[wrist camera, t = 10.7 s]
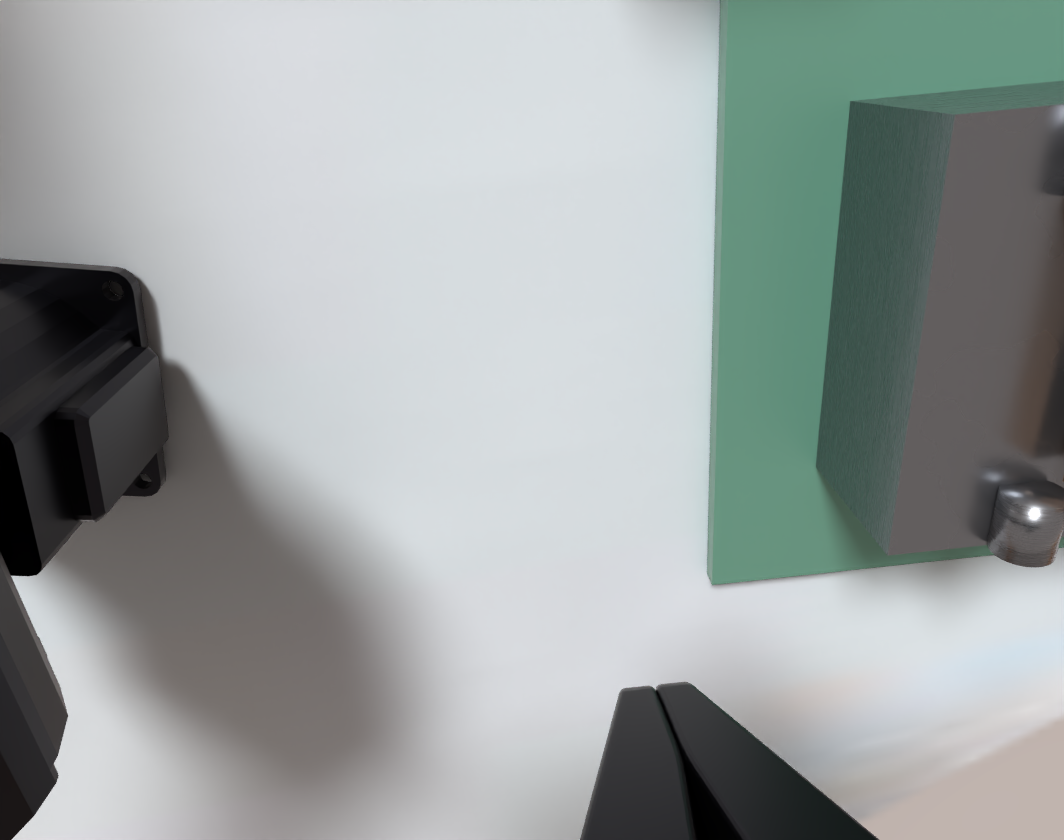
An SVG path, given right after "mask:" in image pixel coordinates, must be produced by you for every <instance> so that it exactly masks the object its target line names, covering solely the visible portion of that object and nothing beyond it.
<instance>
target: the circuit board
mask: <svg viewBox="0 0 1064 840" xmlns="http://www.w3.org/2000/svg"><path fill="white" fill-rule="evenodd" d="M1063 80H1064V0H720V32H719V75H718V119H717V162H716V205H715V249H714V292H713V336H712V379H711V423H710V466H709V509H708V553H707V574H708V577H709V579H710V581H711V584H712V585H716V584H726V583H735V582H744V581H754V580H763V579H772V578H782V577H791V576H800V575H810V574H819V573H828V572H838V571H847V570H857V569H866V568H875V567H885V566H894V565H903V564H913V563H922V562H931V561H941V560H950V559H959V558H969V557H978V556H987V555H994V554H993V553H992V552H991V551H990V550H989V549H988V547H987V545H983V546H973V547H964V548H955V549H945V550H936V551H927V552H917V553H908V554H898V555H889V556H887V554H886V553H885V552H884V551H883V549H882V548H881V547H880V546H879V544H878V543H877V542H876V541H875V539H874V538H873V537H872V536H871V534H870V533H869V532H868V531H867V530H866V528H865V527H864V526H863V525H862V523H861V522H860V521H859V520H858V518H857V517H856V516H855V515H854V513H853V512H852V511H851V510H850V508H849V507H848V506H847V505H846V504H845V502H844V501H843V500H842V499H841V497H840V496H839V495H838V494H837V492H836V491H835V490H834V489H833V487H832V486H831V485H830V484H829V483H828V481H827V480H826V479H825V478H824V476H823V475H822V474H821V473H820V471H819V470H818V469H817V468H816V456H817V445H818V435H819V424H820V414H821V403H822V393H823V382H824V372H825V361H826V351H827V340H828V330H829V319H830V308H831V298H832V287H833V277H834V266H835V256H836V245H837V235H838V224H839V214H840V203H841V193H842V182H843V171H844V161H845V150H846V140H847V129H848V119H849V108H850V101H855V100H866V99H876V98H886V97H897V96H907V95H918V94H928V93H938V92H949V91H959V90H970V89H980V88H990V87H1001V86H1011V85H1022V84H1032V83H1042V82H1053V81H1063ZM1062 547H1064V537H1061V539H1060V543H1059V546H1058V548H1062Z"/></svg>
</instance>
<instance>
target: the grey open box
mask: <svg viewBox="0 0 1064 840" xmlns="http://www.w3.org/2000/svg"><path fill="white" fill-rule="evenodd" d="M816 468H817V469H818V470H819V471H820V473H821V474H822V475H823V476H824V478H825V479H826V480H827V481H828V483H829V484H830V485H831V486H832V487H833V489H834V490H835V491H836V492H837V494H838V495H839V496H840V497H841V499H842V500H843V501H844V502H845V504H846V505H847V506H848V507H849V508H850V510H851V511H852V512H853V513H854V515H855V516H856V517H857V518H858V520H859V521H860V522H861V523H862V525H863V526H864V527H865V528H866V530H867V531H868V532H869V533H870V534H871V536H872V537H873V538H874V539H875V541H876V542H877V543H878V544H879V546H880V547H881V548H882V549H883V551H884V552H885V553H886V554H887V556H889V555H898V554H908V553H917V552H927V551H936V550H945V549H955V548H964V547H973V546H983V545H987V547H988V549H989V550H990V551H991V552H992V553H993V554H994V555H996V556H997V557H999V558H1000V559H1002V560H1004V561H1007V562H1009V563H1012V564H1015V565H1019V566H1025V567H1043V566H1047V565H1050V564H1051V563H1053V562H1054V560H1055V557H1056V554H1057V550H1058V546H1059V543H1060V539H1061V537H1064V482H1063V481H1062V480H1063V476H1064V80H1063V81H1053V82H1042V83H1032V84H1022V85H1011V86H1001V87H990V88H980V89H970V90H959V91H949V92H938V93H928V94H918V95H907V96H897V97H886V98H876V99H866V100H855V101H850V108H849V119H848V129H847V140H846V150H845V161H844V171H843V182H842V193H841V203H840V214H839V224H838V235H837V245H836V256H835V266H834V277H833V287H832V298H831V308H830V319H829V330H828V340H827V351H826V361H825V372H824V382H823V393H822V403H821V414H820V424H819V435H818V445H817V456H816Z"/></svg>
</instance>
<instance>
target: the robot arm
mask: <svg viewBox="0 0 1064 840" xmlns="http://www.w3.org/2000/svg"><path fill="white" fill-rule="evenodd" d="M109 281H114V282H117V283H118V284H119V285H120V286H121V287H122V289H123V291H124V292H123V296H119V295H115V294H114V293H113V292H112V291H111V289H110V287H109ZM168 437H169V433H168V426H167V418H166V411H165V403H164V396H163V388H162V381H161V373H160V366H159V358H158V356H157V355H156V354H155V352H154V351H153V350H152V349H151V348H150V347H148V341H147V334H146V326H145V319H144V312H143V305H142V298H141V290H140V286H139V283H138V280H137V279H136V278H135V277H134V275H133V274H132V273H130V272H129V271H127V270H126V269H123V268H119V267H111V266H97V265H82V264H68V263H54V262H40V261H25V260H11V259H0V840H11V839H12V838H13V837H14V836H15V835H16V834H17V833H18V832H19V831H20V830H21V829H22V828H23V827H24V826H25V825H26V824H27V823H28V822H29V821H30V819H31V818H32V817H33V816H34V815H35V814H36V812H37V811H38V809H39V808H40V806H41V805H42V803H43V802H44V800H45V799H46V797H47V796H48V794H49V793H50V791H51V790H52V788H53V787H54V785H55V784H56V782H57V779H58V773H57V770H56V768H55V766H54V762H55V760H56V758H57V756H58V753H59V749H60V745H61V741H62V737H63V733H64V729H65V725H66V721H67V718H68V714H67V710H66V706H65V703H64V699H63V696H62V692H61V688H60V685H59V683H58V681H57V679H56V676H55V674H54V672H53V670H52V667H51V665H50V663H49V661H48V658H47V654H46V652H45V650H44V647H43V645H42V643H41V641H40V638H39V637H38V636H37V634H36V631H35V629H34V627H33V625H32V622H31V620H30V618H29V616H28V613H27V611H26V609H25V607H24V604H23V602H22V600H21V598H20V595H19V593H18V591H17V589H16V586H15V584H14V582H13V580H12V577H11V576H33V575H37V574H38V573H39V572H40V571H41V570H42V569H43V568H44V567H45V566H46V565H47V563H48V562H49V561H50V560H51V559H52V558H53V556H54V555H55V554H56V553H57V552H58V550H59V549H60V548H61V547H62V546H63V545H64V543H65V542H66V541H67V540H68V539H69V538H70V536H71V535H72V534H73V533H74V532H75V530H76V529H77V528H78V527H79V526H80V525H81V523H82V522H83V521H91V522H97V521H99V520H100V519H101V518H102V517H103V516H105V515H106V514H107V513H108V512H109V510H110V509H111V508H112V507H113V506H114V504H115V503H116V502H117V501H118V499H119V498H120V497H121V496H122V495H123V496H152V495H153V494H155V493H157V492H158V490H159V489H160V488H161V486H162V485H163V484H164V482H165V481H166V470H165V463H164V456H163V449H162V445H163V444H164V443H165V442H166V440H167V439H168ZM140 473H142V474H146V475H147V476H149V477H150V479H151V482H147V481H144V480H143V479H141V478H140V476H139V474H140ZM580 840H879V839H878V838H876V837H875V836H874V835H873V834H872V833H870V832H869V831H868V830H867V829H866V828H864V827H863V826H862V825H861V824H860V823H858V822H857V821H856V820H855V819H854V818H852V817H851V816H850V815H849V814H848V813H846V812H845V811H844V810H843V809H841V808H840V807H839V806H838V805H837V804H835V803H834V802H833V801H832V800H831V799H829V798H828V797H827V796H826V795H825V794H823V793H822V792H821V791H820V790H819V789H817V788H816V787H815V786H814V785H813V784H811V783H810V782H809V781H808V780H807V779H805V778H804V777H803V776H802V775H800V774H799V773H798V772H797V771H796V770H794V769H793V768H792V767H791V766H790V765H788V764H787V763H786V762H785V761H784V760H782V759H781V758H780V757H779V756H778V755H776V754H775V753H774V752H773V751H772V750H770V749H769V748H768V747H767V746H765V745H764V744H763V743H762V742H761V741H759V740H758V739H757V738H756V737H755V736H753V735H752V734H751V733H750V732H749V731H747V730H746V729H745V728H744V727H743V726H741V725H740V724H739V723H738V722H737V721H735V720H734V719H733V718H732V717H731V716H729V715H728V714H727V713H726V712H724V711H723V710H722V709H721V708H720V707H718V706H717V705H716V704H715V703H714V702H712V701H711V700H710V699H709V698H708V697H706V696H705V695H704V694H703V693H702V692H700V691H699V690H698V689H697V688H696V687H694V686H693V685H692V684H690V683H688V682H678V683H668V684H660V685H658V686H657V687H656V689H654V688H653V687H651V686H641V687H632V688H624V689H622V690H621V691H620V693H619V696H618V700H617V704H616V707H615V711H614V715H613V718H612V722H611V726H610V730H609V733H608V737H607V741H606V745H605V748H604V752H603V756H602V760H601V763H600V767H599V771H598V774H597V778H596V782H595V786H594V789H593V793H592V797H591V801H590V804H589V808H588V812H587V815H586V819H585V823H584V827H583V830H582V834H581V838H580Z"/></svg>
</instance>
